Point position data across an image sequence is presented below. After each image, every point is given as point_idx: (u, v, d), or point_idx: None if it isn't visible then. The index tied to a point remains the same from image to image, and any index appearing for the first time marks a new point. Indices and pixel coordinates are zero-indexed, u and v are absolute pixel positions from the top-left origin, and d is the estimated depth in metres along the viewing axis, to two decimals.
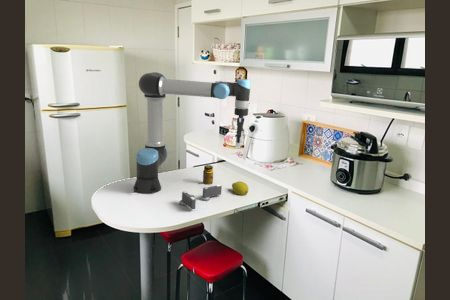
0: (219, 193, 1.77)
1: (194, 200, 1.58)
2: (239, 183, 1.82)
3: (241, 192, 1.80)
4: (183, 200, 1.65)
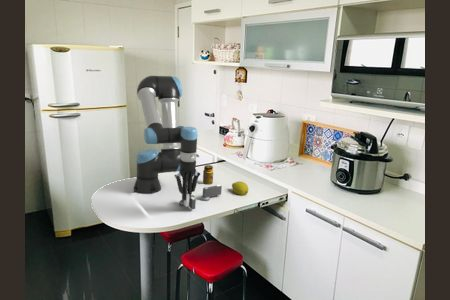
0: (219, 193, 1.77)
1: (194, 200, 1.58)
2: (239, 183, 1.82)
3: (241, 192, 1.80)
4: (183, 200, 1.65)
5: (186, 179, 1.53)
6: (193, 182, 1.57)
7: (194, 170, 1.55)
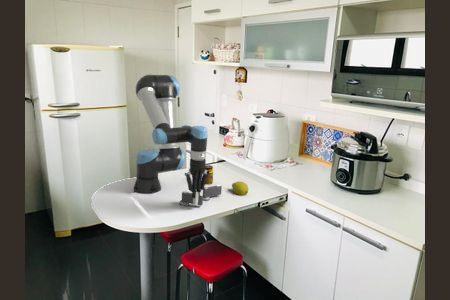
0: (219, 193, 1.77)
1: (202, 196, 1.63)
2: (239, 183, 1.82)
3: (241, 192, 1.80)
4: (184, 200, 1.65)
5: (196, 177, 1.55)
6: (202, 180, 1.60)
7: (203, 168, 1.57)
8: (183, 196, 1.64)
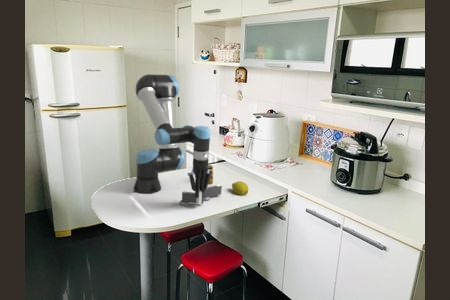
0: (219, 193, 1.77)
1: (203, 194, 1.65)
2: (239, 183, 1.82)
3: (241, 192, 1.80)
4: (185, 200, 1.65)
5: (199, 177, 1.57)
6: (205, 180, 1.61)
7: (206, 168, 1.59)
8: (183, 196, 1.64)
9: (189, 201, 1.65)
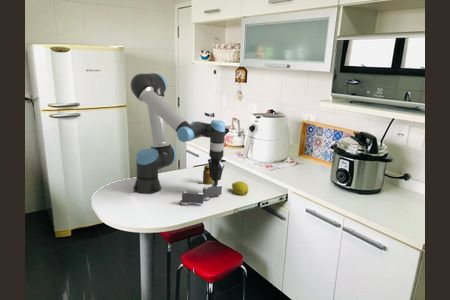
0: (219, 193, 1.77)
1: (203, 194, 1.65)
2: (239, 183, 1.82)
3: (241, 192, 1.80)
4: (185, 200, 1.65)
5: (211, 165, 1.75)
6: None
7: (217, 161, 1.71)
8: (183, 196, 1.64)
9: (189, 201, 1.65)
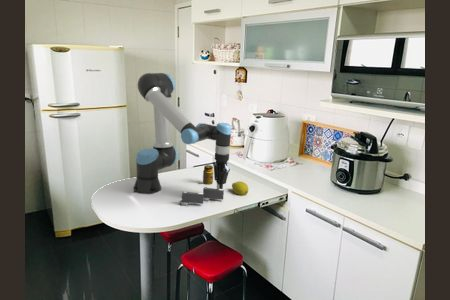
0: (220, 198, 1.71)
1: (203, 194, 1.65)
2: (239, 183, 1.82)
3: (241, 192, 1.80)
4: (185, 200, 1.65)
5: (216, 168, 1.71)
6: None
7: (223, 164, 1.67)
8: (183, 196, 1.64)
9: (189, 201, 1.65)
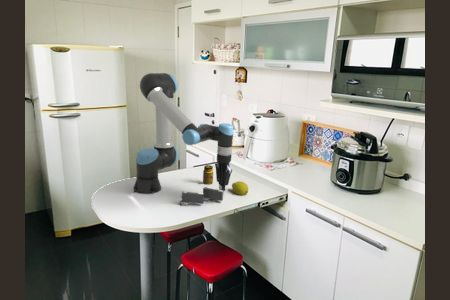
0: (219, 199, 1.70)
1: (203, 194, 1.65)
2: (239, 183, 1.82)
3: (241, 192, 1.80)
4: (185, 200, 1.65)
5: (219, 169, 1.69)
6: None
7: (225, 165, 1.65)
8: (183, 196, 1.64)
9: (189, 201, 1.65)
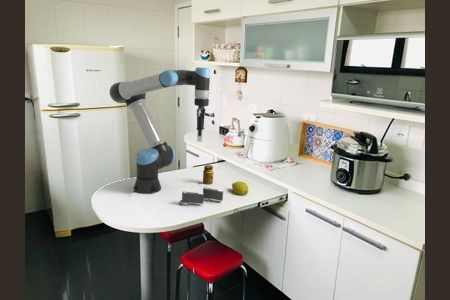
0: (219, 199, 1.70)
1: (203, 194, 1.65)
2: (239, 183, 1.82)
3: (241, 192, 1.80)
4: (185, 200, 1.65)
5: (203, 115, 1.71)
6: None
7: None
8: (183, 196, 1.64)
9: (189, 201, 1.65)
